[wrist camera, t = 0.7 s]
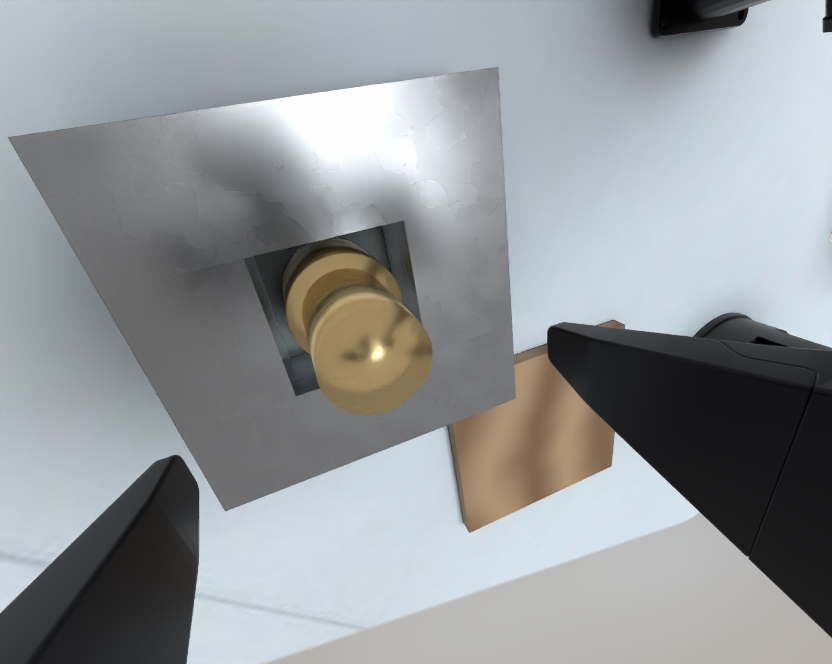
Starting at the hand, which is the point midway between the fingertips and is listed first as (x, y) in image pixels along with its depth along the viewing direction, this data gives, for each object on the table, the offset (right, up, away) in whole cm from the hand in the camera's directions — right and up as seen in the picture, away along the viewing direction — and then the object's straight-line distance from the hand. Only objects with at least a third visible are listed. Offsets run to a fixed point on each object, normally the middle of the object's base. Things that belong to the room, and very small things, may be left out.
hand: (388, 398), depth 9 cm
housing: (-4, +4, +11) cm, 12 cm away
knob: (-4, +4, +11) cm, 12 cm away
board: (+10, -6, +20) cm, 23 cm away
